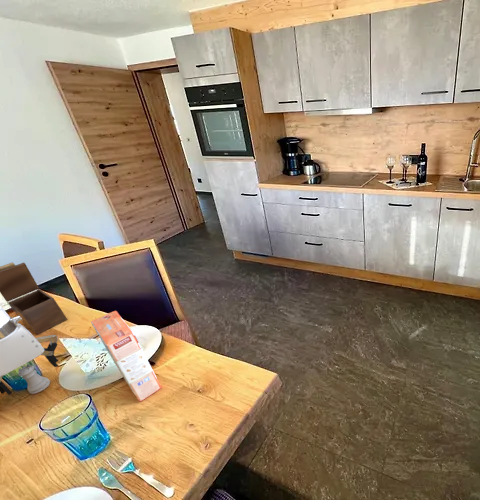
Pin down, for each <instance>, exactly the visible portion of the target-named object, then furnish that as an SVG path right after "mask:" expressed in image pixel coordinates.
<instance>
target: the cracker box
mask: <svg viewBox="0 0 480 500" xmlns="http://www.w3.org/2000/svg"><path fill="white" fill-rule="evenodd" d="M90 323H91V325H92V326H93V328H94V330H95V332H96V334H97V336H98V337H99V339H100V341H101V343H102V344H103V346H104V347H105V349H106V351H107V352H108V354H109V356H110V357H111V359H112V361H113V362H114V364H115V366H116V368H117V369H118V371H119V372H120V375H121V376H122V378H123V379H124V381H125V382H126V385H128V387H129V389H130V390H131V392H132V394H133V395H134V396H135V398H136V399H137V401H138V403H141V402H142V401H144V400H146V399H147V398H149V397H150V396H152V395H153V394H155V393H156V392H158V391H159V390H161V389H162V385H161V383H160V381H159V379H158V378H157V376H156V374H155V371H154V370H153V368H152V366H151V364H150V362H149V360H148V358H147V356H146V354H145V352H144V350H143V348H142V347H141V344H140V343H139V340H138V339H137V336H136V334H135V333H134V331H133V330H132V329H131V327H130V326H129V325H128V324H127V322H126V321H125V320H124V319H123V318H122V316H121V315H120V313H119V312H118V311H117V310H114V311H111V312H108V313H106V314H105V315H103V316H100V317H98V318H96V319H93V320H91V321H90Z"/></svg>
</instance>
